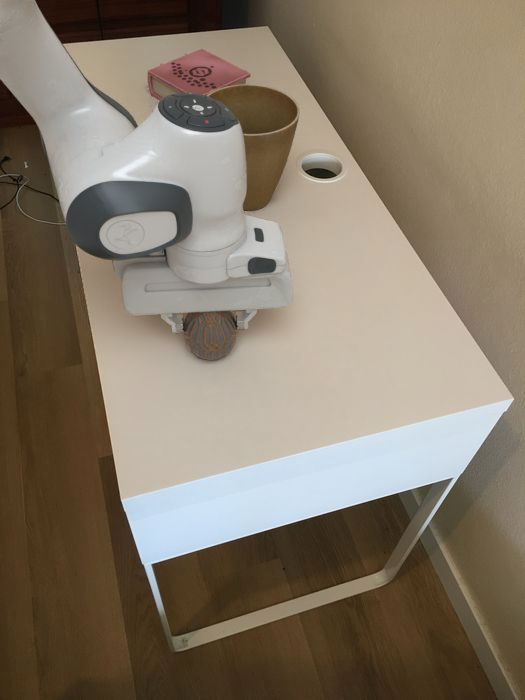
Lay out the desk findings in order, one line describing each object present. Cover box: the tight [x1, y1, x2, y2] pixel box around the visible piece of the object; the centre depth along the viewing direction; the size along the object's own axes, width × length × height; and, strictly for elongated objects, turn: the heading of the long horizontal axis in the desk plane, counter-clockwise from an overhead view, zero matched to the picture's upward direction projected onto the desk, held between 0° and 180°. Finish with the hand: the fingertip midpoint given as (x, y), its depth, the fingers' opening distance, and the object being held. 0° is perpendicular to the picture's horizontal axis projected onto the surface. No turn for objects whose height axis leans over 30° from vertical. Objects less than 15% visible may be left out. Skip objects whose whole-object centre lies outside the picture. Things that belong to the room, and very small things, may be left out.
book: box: [146, 48, 252, 101], centre depth 116 cm, size 14×15×5 cm
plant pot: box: [207, 83, 301, 212], centre depth 91 cm, size 15×15×16 cm
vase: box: [183, 310, 238, 361], centre depth 73 cm, size 7×7×9 cm
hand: (210, 327), depth 74 cm, fingers closed on vase, 7 cm apart
